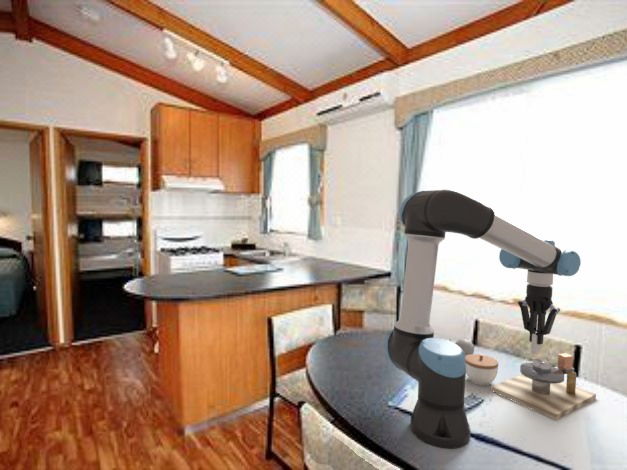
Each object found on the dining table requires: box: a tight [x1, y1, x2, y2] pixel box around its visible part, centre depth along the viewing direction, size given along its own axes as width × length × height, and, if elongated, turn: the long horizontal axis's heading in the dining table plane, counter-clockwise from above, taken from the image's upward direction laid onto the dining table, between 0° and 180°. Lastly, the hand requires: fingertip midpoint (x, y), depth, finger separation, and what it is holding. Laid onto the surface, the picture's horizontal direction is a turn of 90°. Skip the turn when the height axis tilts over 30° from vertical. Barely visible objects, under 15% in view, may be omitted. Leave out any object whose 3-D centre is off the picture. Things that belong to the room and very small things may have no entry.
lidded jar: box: [465, 353, 499, 387], centre depth 129 cm, size 11×11×9 cm
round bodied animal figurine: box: [448, 338, 475, 356], centre depth 149 cm, size 7×12×8 cm, turn 66°
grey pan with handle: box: [519, 353, 575, 383], centre depth 120 cm, size 18×12×6 cm
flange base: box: [490, 371, 597, 421], centre depth 120 cm, size 24×20×8 cm
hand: (535, 352), depth 129 cm, fingers closed
